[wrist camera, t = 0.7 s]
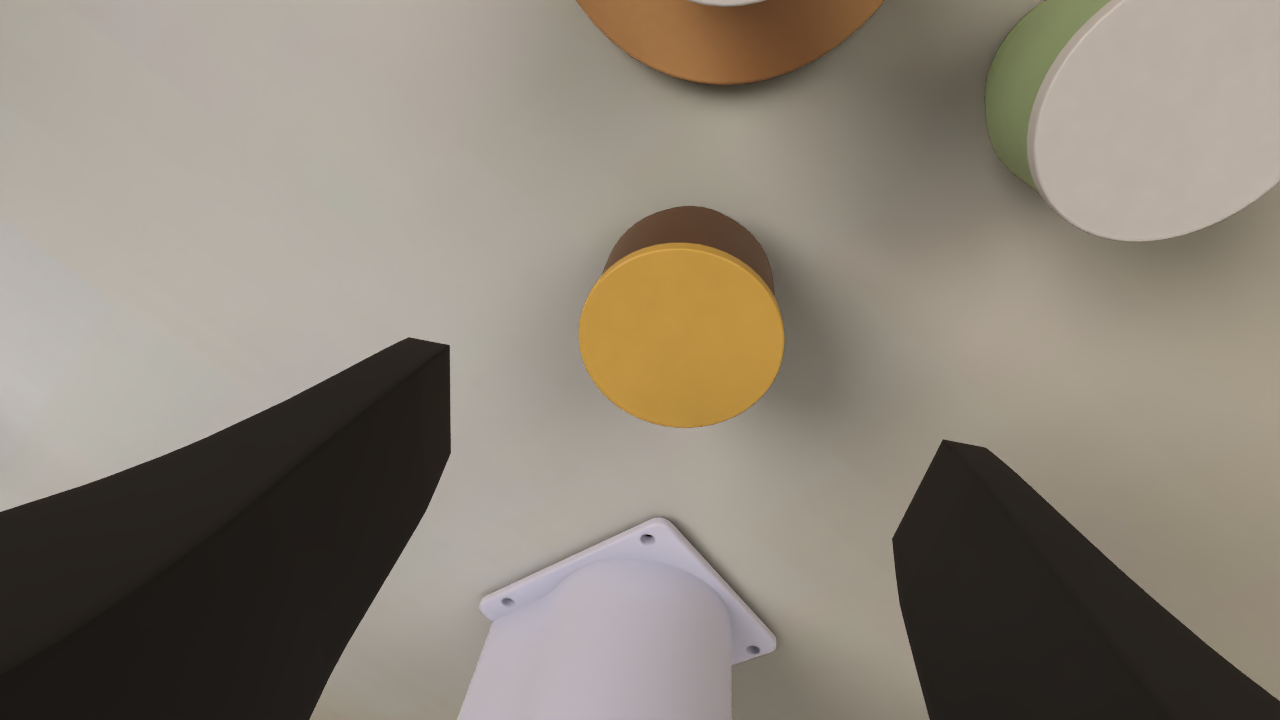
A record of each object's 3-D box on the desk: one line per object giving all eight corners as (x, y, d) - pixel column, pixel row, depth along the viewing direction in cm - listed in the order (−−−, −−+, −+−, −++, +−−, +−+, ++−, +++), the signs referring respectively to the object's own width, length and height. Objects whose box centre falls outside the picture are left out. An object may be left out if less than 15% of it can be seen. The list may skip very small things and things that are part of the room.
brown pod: (670, 368, 20) (657, 456, 17) (574, 249, 19) (536, 319, 15) (805, 291, 19) (823, 371, 15) (712, 153, 17) (707, 205, 13)
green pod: (1010, 215, 17) (1087, 286, 13) (929, 53, 15) (991, 82, 12) (1219, 102, 15) (1376, 147, 11) (1153, -98, 13) (1312, -121, 10)
